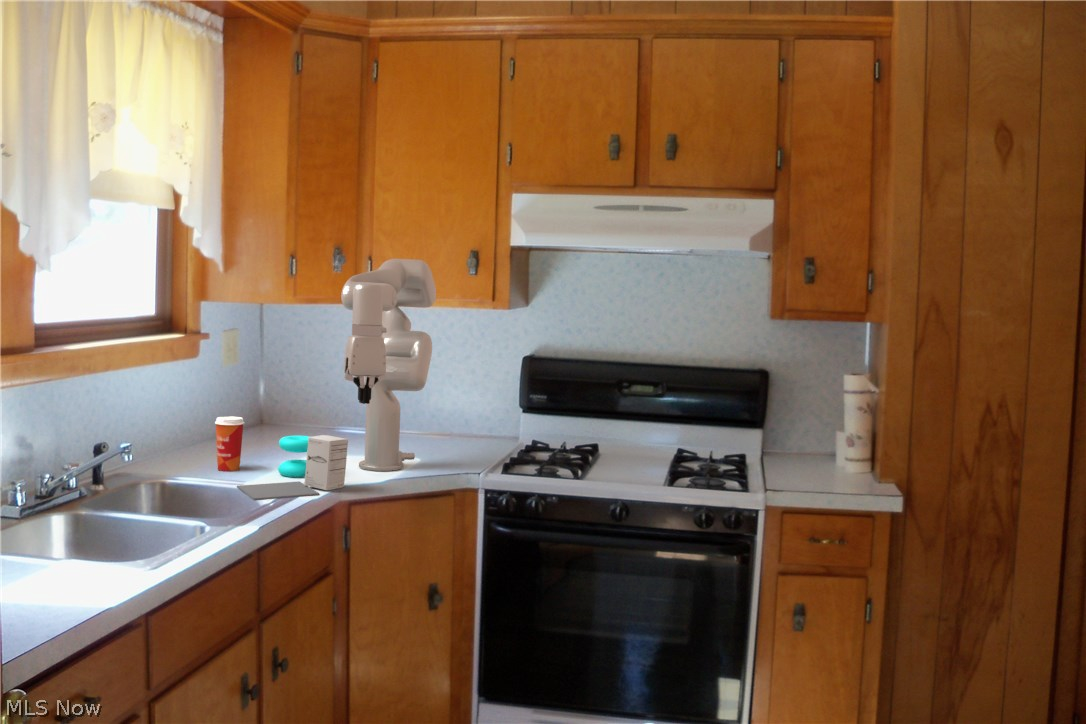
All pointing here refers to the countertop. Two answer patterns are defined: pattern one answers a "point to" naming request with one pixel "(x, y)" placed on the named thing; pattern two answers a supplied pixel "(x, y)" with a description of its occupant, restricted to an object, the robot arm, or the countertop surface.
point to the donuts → (297, 446)
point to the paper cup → (229, 442)
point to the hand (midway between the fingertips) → (364, 402)
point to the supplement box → (326, 462)
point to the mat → (277, 490)
